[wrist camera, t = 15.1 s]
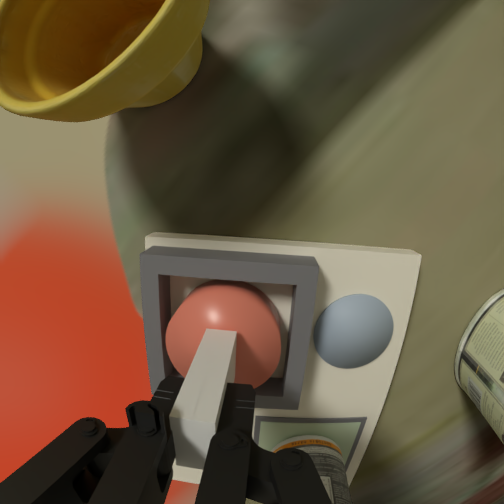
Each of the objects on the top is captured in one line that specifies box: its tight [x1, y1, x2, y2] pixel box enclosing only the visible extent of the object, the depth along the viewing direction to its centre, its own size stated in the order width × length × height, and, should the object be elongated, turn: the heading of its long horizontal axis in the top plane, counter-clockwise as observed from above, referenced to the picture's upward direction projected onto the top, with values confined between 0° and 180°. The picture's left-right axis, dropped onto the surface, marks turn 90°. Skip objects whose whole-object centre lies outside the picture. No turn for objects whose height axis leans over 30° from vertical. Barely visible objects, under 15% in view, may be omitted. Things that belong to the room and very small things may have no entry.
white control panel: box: [140, 232, 422, 486], centre depth 20 cm, size 22×16×4 cm
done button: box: [166, 279, 281, 389], centre depth 17 cm, size 6×6×2 cm
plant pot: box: [0, 0, 210, 122], centre depth 12 cm, size 10×10×10 cm
